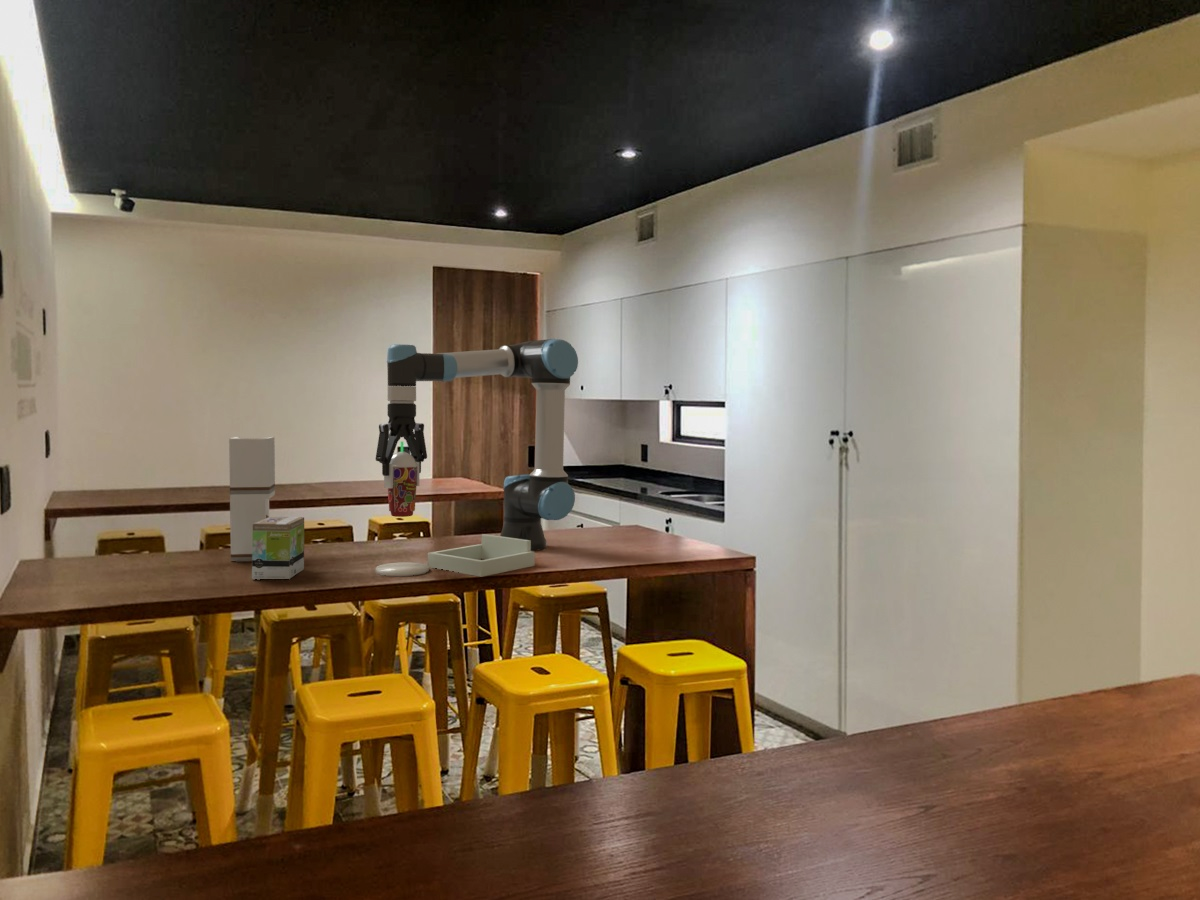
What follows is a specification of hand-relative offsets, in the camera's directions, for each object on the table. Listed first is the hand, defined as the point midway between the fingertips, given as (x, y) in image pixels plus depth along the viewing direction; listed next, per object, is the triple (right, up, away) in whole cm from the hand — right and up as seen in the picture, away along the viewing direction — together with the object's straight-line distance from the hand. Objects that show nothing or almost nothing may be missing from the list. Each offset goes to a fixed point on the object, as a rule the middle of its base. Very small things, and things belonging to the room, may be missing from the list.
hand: (402, 486), depth 249 cm
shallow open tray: (+20, -23, +10) cm, 32 cm away
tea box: (-31, -23, -5) cm, 39 cm away
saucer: (0, -23, +1) cm, 23 cm away
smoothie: (0, -8, 0) cm, 8 cm away
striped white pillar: (-47, -22, +20) cm, 56 cm away
